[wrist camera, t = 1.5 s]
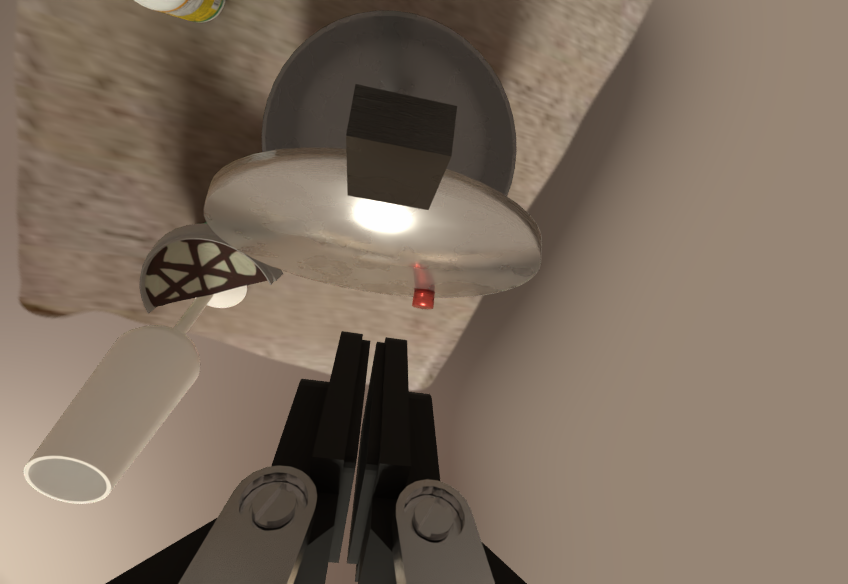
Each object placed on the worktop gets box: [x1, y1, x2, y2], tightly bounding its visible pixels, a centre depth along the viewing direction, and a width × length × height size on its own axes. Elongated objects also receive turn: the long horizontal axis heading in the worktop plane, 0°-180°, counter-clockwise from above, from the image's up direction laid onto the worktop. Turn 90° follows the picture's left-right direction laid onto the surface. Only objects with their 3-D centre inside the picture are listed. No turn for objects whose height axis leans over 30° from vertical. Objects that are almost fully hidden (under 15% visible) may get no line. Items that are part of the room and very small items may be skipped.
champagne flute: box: [23, 285, 247, 504], centre depth 36 cm, size 7×7×24 cm
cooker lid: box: [204, 84, 542, 309], centre depth 23 cm, size 22×19×2 cm
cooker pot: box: [262, 11, 516, 196], centre depth 36 cm, size 19×19×11 cm
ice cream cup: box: [140, 222, 283, 313], centre depth 39 cm, size 12×6×10 cm, turn 103°
